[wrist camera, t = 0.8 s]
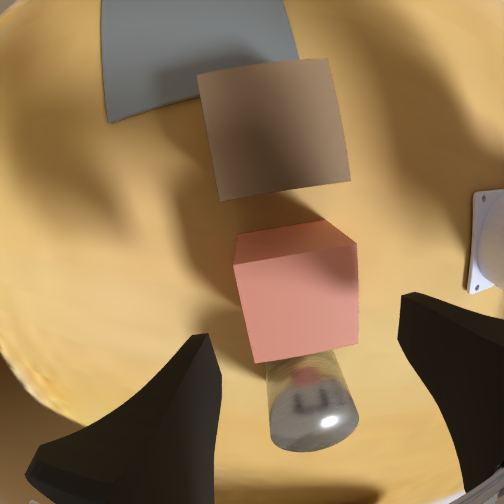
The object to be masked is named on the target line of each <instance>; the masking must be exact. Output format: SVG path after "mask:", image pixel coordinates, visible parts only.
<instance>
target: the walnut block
mask: <svg viewBox="0 0 504 504" xmlns="http://www.w3.org/2000/svg"><path fill="white" fill-rule="evenodd" d="M197 80H198V86H199V92H200V98H201V103H202V109H203V115H204V120H205V126H206V131H207V137H208V142H209V147H210V153H211V158H212V163H213V168H214V174H215V179H216V184H217V189H218V194H219V199H220V202H222V201H227V200H233V199H238V198H243V197H249V196H255V195H260V194H266V193H272V192H278V191H285V190H291V189H297V188H304V187H311V186H318V185H325V184H333V183H340V182H348V181H351V177H350V169H349V162H348V156H347V149H346V143H345V137H344V131H343V126H342V120H341V115H340V110H339V105H338V101H337V96H336V91H335V87H334V83H333V79H332V74H331V70H330V66H329V63H328V59H304V60H289V61H278V62H269V63H261V64H253V65H247V66H240V67H234V68H229V69H223V70H218V71H213V72H209V73H204V74H200V75H197Z"/></svg>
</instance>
